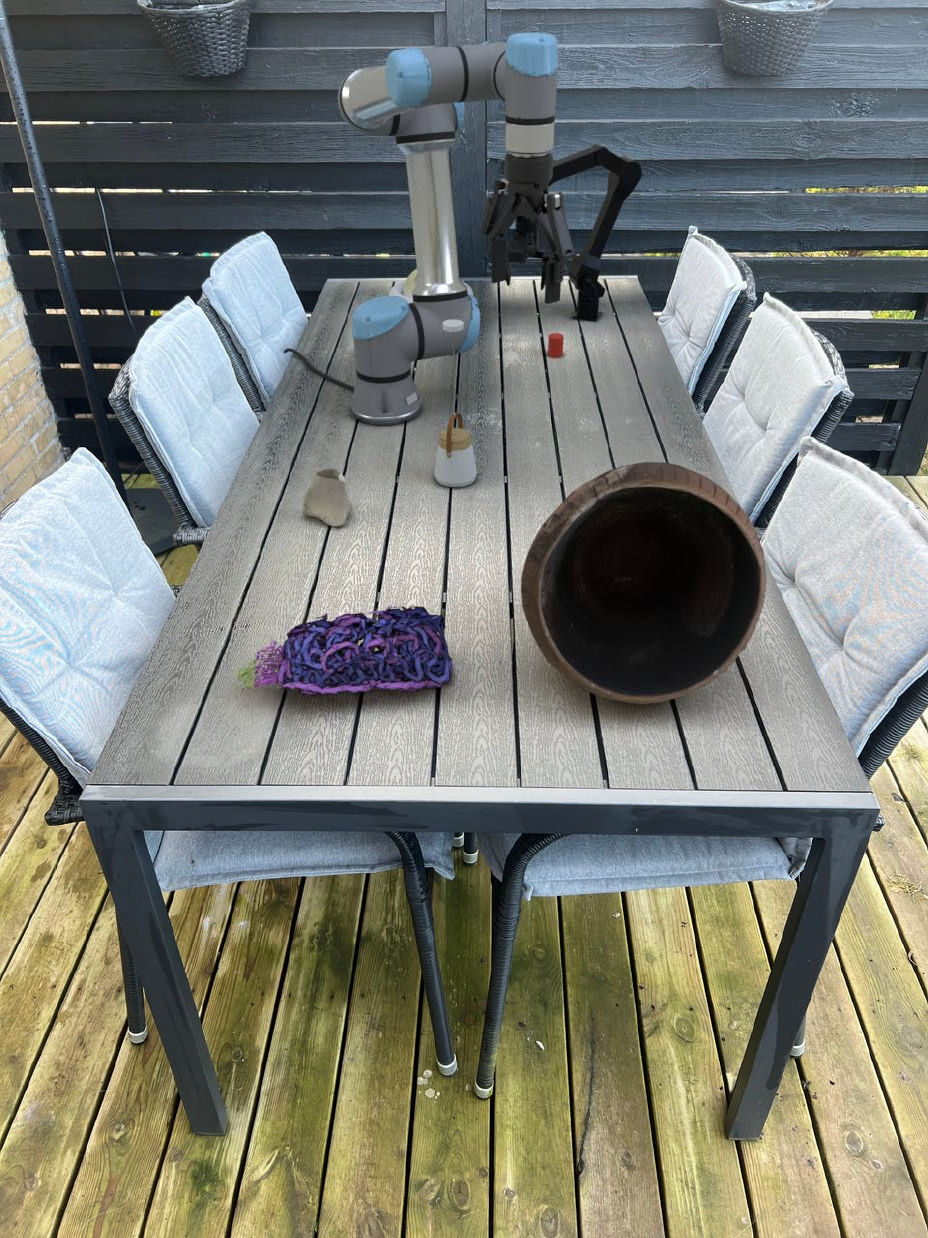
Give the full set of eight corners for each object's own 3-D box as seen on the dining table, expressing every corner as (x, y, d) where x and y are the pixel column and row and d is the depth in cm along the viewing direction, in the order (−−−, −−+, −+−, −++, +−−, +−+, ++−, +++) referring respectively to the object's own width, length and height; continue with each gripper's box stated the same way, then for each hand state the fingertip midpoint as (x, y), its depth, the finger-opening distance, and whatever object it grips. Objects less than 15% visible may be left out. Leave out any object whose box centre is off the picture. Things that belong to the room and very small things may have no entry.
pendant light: (468, 490, 174) (467, 333, 156) (427, 483, 176) (422, 328, 158) (482, 470, 180) (483, 317, 162) (443, 464, 183) (439, 312, 164)
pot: (560, 415, 140) (605, 423, 111) (739, 502, 146) (827, 531, 117) (469, 606, 146) (490, 660, 117) (644, 682, 152) (706, 752, 123)
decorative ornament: (458, 672, 122) (225, 684, 119) (455, 713, 130) (238, 725, 128) (450, 592, 130) (231, 602, 127) (447, 636, 138) (243, 646, 135)
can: (561, 351, 228) (562, 332, 226) (563, 357, 226) (564, 338, 223) (547, 352, 228) (547, 333, 225) (548, 357, 226) (549, 338, 223)
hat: (387, 310, 253) (384, 253, 244) (467, 306, 255) (467, 249, 245) (392, 343, 233) (388, 283, 224) (478, 339, 235) (478, 279, 226)
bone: (352, 523, 169) (358, 468, 167) (345, 530, 162) (351, 474, 159) (303, 516, 169) (308, 461, 167) (294, 523, 162) (299, 466, 159)
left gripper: (604, 161, 137) (593, 305, 150) (496, 136, 153) (494, 268, 165) (566, 169, 133) (559, 316, 146) (460, 142, 149) (461, 277, 162)
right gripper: (479, 228, 227) (479, 292, 236) (551, 236, 221) (548, 301, 230) (496, 216, 235) (496, 279, 244) (566, 224, 229) (563, 288, 238)
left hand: (524, 291), depth 156 cm, fingers open, 13 cm apart
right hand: (525, 287), depth 239 cm, fingers open, 9 cm apart
